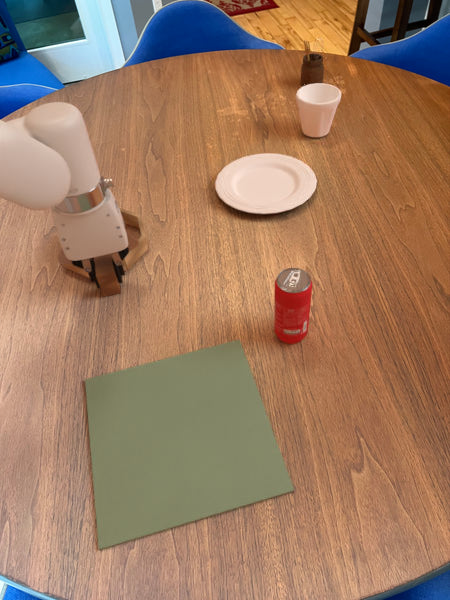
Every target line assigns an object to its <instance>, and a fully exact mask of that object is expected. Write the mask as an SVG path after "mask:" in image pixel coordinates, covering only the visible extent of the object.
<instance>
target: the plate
mask: <svg viewBox="0 0 450 600" xmlns="http://www.w3.org/2000/svg"><path fill="white" fill-rule="evenodd" d="M317 184H318V180H317V177H316V173H315V172H314V171H313V169H312V168H311V167H310V166H309V165H308V164H306V163H305V162H303V161H302V160H300V159H299V158H295V157H293V156H291V155H286V154H281V153H272V152H271V153H269V152H265V153H254V154H250V155H246V156H243V157H240V158H237V159H235V160H233V161H231V162H230V163H228V164H227V165H226V166H224V167H223V168H222V169H221V170H220V172H218V174H217V176H216V179H215V181H214V185H215V186H214V187H215V192H216V194H217V196H218V198H219V199H220V200H221V201H222V202H223V203H224V204H226V206H228V207H230V208H232V209H233V210H236V211H240V212H243V213H247V214H253V215H263V216H264V215H275V214H276V215H277V214H281V213H284V212H285V213H286V212H288V211H292V210H294V209H296V208H298V207H301V206H302V205H304V204H305V203H306V202H308V201H309V199H311V198H312V196H313V195H314V193H315V192H316V188H317Z"/></svg>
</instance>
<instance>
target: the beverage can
mask: <svg viewBox="0 0 450 600" xmlns="http://www.w3.org/2000/svg"><path fill="white" fill-rule="evenodd" d="M312 293H313V281H312V278H311V276H310V274H309V272H307V271H305V270H304V269H302V268H299V267H288V268H284V269H282V270H281V271H280V272H278V274H277V276H276V278H275V280H274V295H273V296H274V299H273V300H274V301H273V302H274V304H273V305H274V307H273V310H274V311H273V315H274V316H273V331H274V334H275V335H276V336H277V338H278V339H279V341H281V342H282V343H283V344H287V345H297V344H299V343H300V342H302V341H303V340H304V338H306V336H307V335H308V332H309V326H310V314H311V303H312Z"/></svg>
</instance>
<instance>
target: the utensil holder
mask: <svg viewBox="0 0 450 600" xmlns="http://www.w3.org/2000/svg"><path fill="white" fill-rule="evenodd" d="M318 42H320V44H318ZM303 44H304V52H305V55H304V56H303V58H302V64H301V67H300V86H301V87H303V86H306V85H309V84H315V83H323V82H324V74H325V71H324V70H325V69H324V68H325V66H324V56H323V55H322V50H324V49H323V48H324V47H321V46H324V40H323V39H322V38H321V37H319V39H318V38H316V39H315V41H314V44H313V53H311V44H310V41H307V40H305V39H304V41H303ZM316 47H319V50H317V48H316ZM315 50H317V52H315ZM320 51H321V52H320ZM304 84H305V85H304Z"/></svg>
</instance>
